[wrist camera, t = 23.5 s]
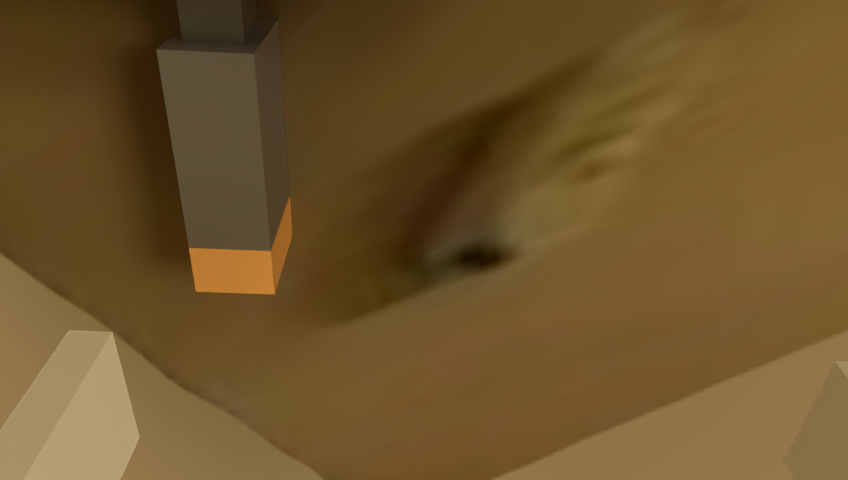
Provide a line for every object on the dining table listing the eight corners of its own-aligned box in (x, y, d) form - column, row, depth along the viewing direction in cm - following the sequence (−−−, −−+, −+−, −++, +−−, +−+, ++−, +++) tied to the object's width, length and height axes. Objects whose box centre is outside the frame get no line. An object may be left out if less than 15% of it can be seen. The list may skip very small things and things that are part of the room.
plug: (188, -45, 35) (144, -19, 29) (274, -40, 35) (247, -14, 29) (223, 232, 44) (195, 291, 38) (292, 235, 44) (274, 294, 38)
